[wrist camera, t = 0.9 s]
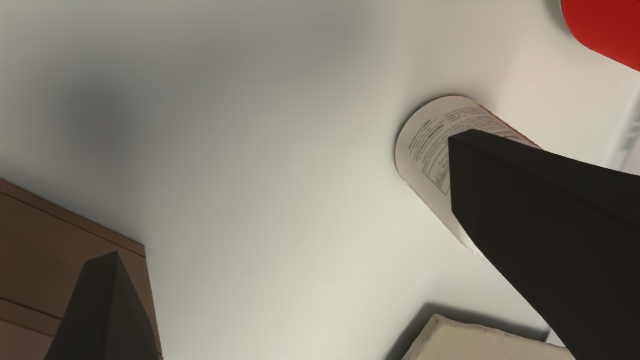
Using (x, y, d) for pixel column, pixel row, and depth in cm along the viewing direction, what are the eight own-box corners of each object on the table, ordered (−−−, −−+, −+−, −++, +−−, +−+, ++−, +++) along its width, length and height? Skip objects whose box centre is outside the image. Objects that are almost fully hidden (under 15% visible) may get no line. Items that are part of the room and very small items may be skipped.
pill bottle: (486, 166, 27) (611, 272, 21) (398, 200, 26) (500, 321, 20) (483, 78, 25) (623, 169, 18) (386, 112, 24) (497, 220, 18)
